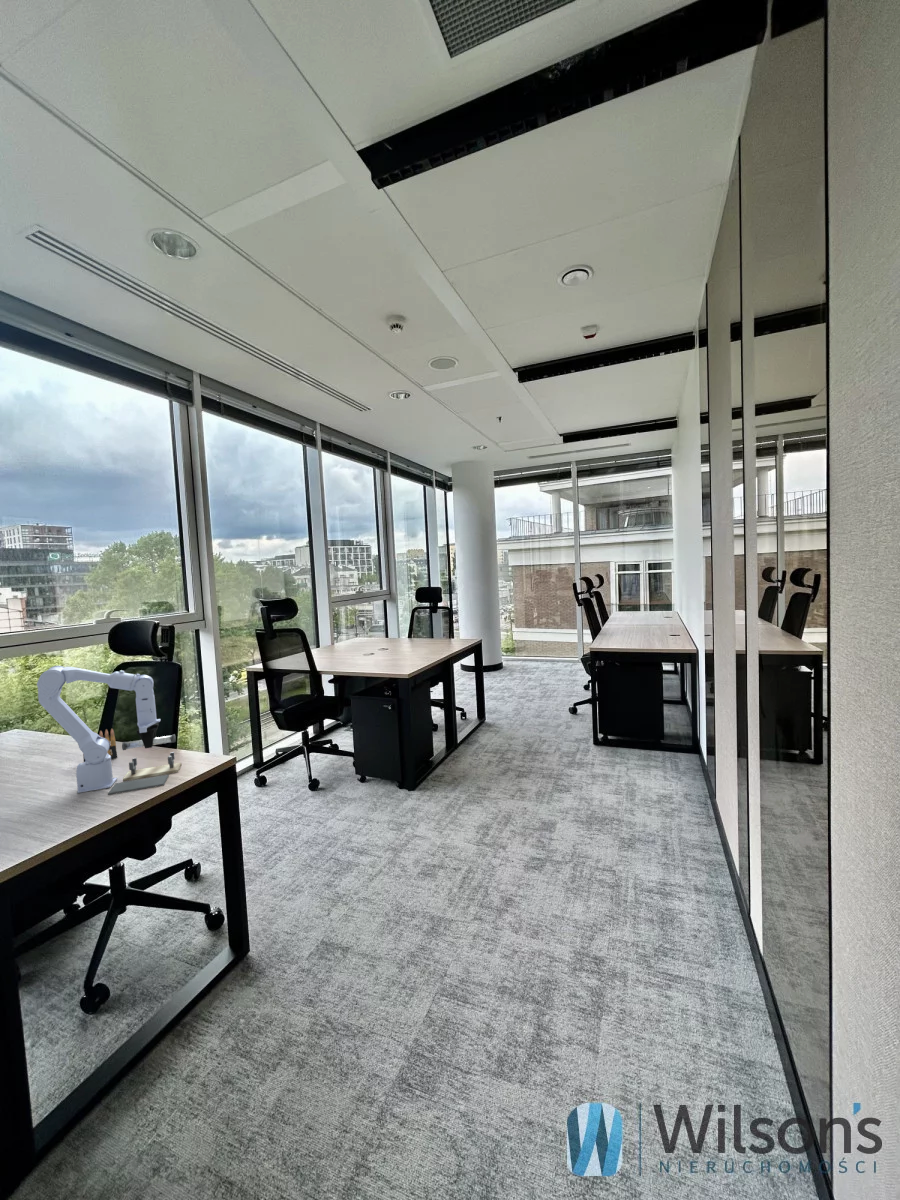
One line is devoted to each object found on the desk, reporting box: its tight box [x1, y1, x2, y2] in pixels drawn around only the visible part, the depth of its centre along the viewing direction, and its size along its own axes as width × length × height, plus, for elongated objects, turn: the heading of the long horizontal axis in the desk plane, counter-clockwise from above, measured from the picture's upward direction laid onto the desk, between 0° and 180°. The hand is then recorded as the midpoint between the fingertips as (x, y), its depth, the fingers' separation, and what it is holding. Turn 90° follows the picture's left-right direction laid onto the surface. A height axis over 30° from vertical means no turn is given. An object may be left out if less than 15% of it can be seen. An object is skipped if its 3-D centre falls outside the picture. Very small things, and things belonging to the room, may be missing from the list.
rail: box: [121, 733, 177, 751], centre depth 170 cm, size 16×3×3 cm, turn 111°
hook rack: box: [122, 751, 182, 782], centre depth 171 cm, size 17×7×6 cm, turn 110°
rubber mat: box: [107, 774, 169, 796], centre depth 161 cm, size 16×8×1 cm, turn 110°
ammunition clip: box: [82, 728, 118, 763], centre depth 186 cm, size 11×2×12 cm, turn 127°
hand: (149, 746), depth 170 cm, fingers closed on rail, 2 cm apart
